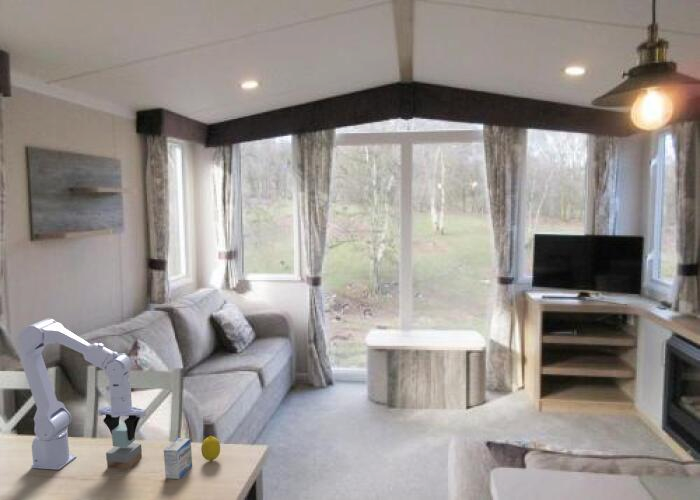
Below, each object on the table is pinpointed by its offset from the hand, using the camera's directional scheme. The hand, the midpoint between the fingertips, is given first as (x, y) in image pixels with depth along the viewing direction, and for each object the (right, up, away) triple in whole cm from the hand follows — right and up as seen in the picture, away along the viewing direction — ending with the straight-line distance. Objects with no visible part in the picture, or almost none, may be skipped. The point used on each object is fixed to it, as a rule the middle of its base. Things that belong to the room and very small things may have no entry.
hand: (123, 438), depth 160 cm
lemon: (+26, -7, +1) cm, 27 cm away
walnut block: (0, -8, +1) cm, 8 cm away
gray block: (0, -6, +1) cm, 6 cm away
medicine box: (+18, -8, -5) cm, 21 cm away
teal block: (0, -1, 0) cm, 1 cm away
